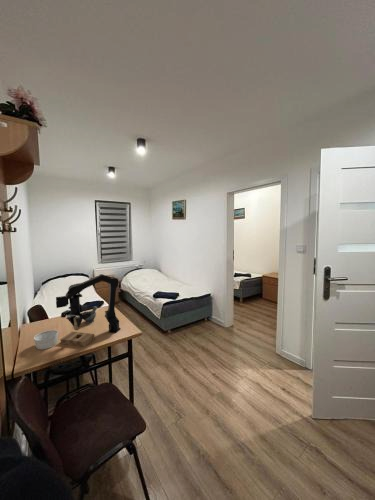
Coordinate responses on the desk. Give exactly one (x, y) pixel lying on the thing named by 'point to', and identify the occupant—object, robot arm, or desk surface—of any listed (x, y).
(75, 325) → the peg
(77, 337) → the board
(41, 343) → the ramekin
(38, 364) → the desk surface
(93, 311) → the mortar and pestle
